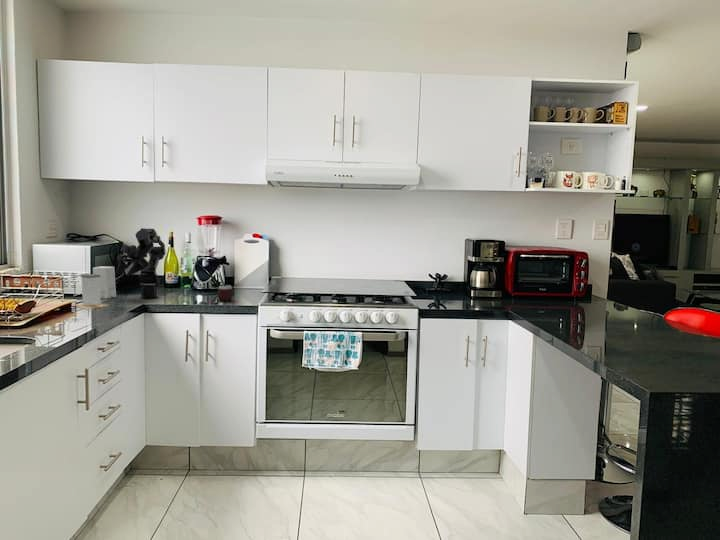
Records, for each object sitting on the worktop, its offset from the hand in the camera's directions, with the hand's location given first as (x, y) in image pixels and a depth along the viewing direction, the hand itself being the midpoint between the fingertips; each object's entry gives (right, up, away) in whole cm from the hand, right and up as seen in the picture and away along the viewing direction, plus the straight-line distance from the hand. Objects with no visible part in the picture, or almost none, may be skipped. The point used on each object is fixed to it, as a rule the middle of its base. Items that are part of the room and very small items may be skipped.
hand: (122, 274), depth 257 cm
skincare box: (-16, -12, +16) cm, 25 cm away
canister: (-11, -14, -7) cm, 19 cm away
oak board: (-11, -15, -7) cm, 20 cm away
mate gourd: (+46, -14, +11) cm, 49 cm away
